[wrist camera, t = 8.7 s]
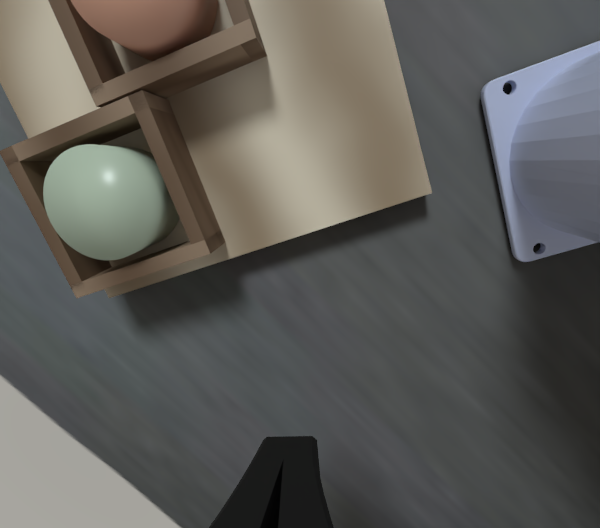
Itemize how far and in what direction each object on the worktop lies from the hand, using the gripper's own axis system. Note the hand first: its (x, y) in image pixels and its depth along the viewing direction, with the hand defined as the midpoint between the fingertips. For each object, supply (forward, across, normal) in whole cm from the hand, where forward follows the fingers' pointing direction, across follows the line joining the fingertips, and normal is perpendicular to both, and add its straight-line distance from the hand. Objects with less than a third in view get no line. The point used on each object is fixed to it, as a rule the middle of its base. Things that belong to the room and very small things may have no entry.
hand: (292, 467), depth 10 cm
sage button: (+8, +7, -7) cm, 13 cm away
